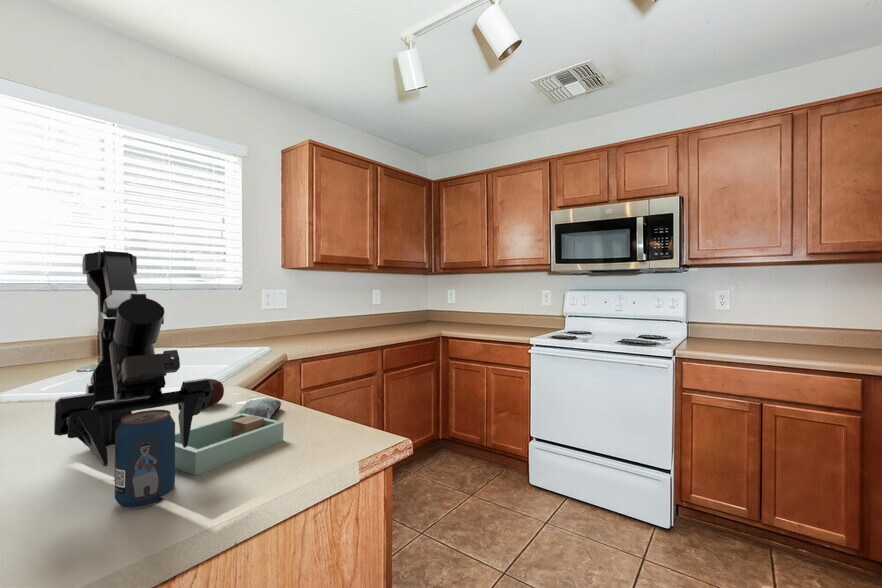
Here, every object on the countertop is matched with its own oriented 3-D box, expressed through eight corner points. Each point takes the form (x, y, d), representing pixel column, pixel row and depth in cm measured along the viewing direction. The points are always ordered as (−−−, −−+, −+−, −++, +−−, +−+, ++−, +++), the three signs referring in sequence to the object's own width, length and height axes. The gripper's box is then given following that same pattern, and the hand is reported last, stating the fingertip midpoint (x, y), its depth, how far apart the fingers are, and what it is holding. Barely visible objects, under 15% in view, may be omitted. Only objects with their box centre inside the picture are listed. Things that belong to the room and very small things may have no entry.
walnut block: (231, 441, 76) (231, 420, 76) (250, 435, 80) (250, 415, 80) (245, 445, 75) (245, 424, 75) (263, 438, 78) (263, 418, 78)
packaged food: (227, 431, 85) (227, 408, 85) (244, 414, 97) (245, 394, 97) (270, 430, 87) (270, 407, 87) (282, 414, 98) (282, 394, 98)
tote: (153, 465, 68) (153, 439, 68) (242, 434, 83) (242, 413, 83) (195, 481, 62) (195, 452, 62) (283, 445, 78) (283, 422, 78)
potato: (201, 401, 108) (202, 375, 108) (229, 402, 107) (230, 376, 107) (183, 409, 100) (183, 381, 100) (213, 410, 100) (213, 382, 100)
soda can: (154, 483, 62) (155, 406, 62) (185, 492, 59) (186, 411, 59) (102, 505, 55) (103, 419, 55) (135, 516, 53) (136, 425, 53)
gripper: (55, 338, 53) (58, 442, 45) (210, 329, 67) (233, 409, 59) (53, 387, 59) (55, 487, 51) (196, 370, 72) (215, 448, 64)
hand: (147, 454), depth 56 cm, fingers open, 9 cm apart
